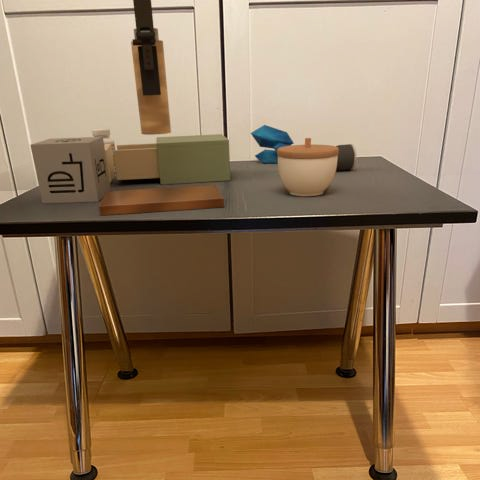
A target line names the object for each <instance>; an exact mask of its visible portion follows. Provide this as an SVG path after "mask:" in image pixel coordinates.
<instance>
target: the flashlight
mask: <svg viewBox="0 0 480 480" xmlns="http://www.w3.org/2000/svg"><path fill="white" fill-rule="evenodd" d="M335 146H336V147H338V148H339V153H338V160H337V168H336V171H352V170H354V169H355V167H356V164H357V149H356V146H355V145H354V144H352V143H349V144H348V143H347V144H338V145H335ZM350 169H351V170H350Z"/></svg>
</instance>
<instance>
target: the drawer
mask: <svg viewBox="0 0 480 480" xmlns="http://www.w3.org/2000/svg"><path fill="white" fill-rule="evenodd" d="M104 147H105V154H106V161H107V168H108V174H109V181H110V184H111V183H112V180H113V179H114V177H115V175H116V180H117V181H127V180H145V179H160V174H159V164H158V154H157V144H156V142H155V143H153V142H152V143H151V142H149V143H132V144H131V143H129V144H117V145H116V149H115V150H113V153H114V160H115V167H116V173H115V169H114V162H113V155H112V148H111V144H105V146H104Z"/></svg>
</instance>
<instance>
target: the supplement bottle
mask: <svg viewBox="0 0 480 480" xmlns="http://www.w3.org/2000/svg"><path fill="white" fill-rule="evenodd" d="M91 133H92V137H103V141H104V146H105V144H111V148H112V155H113V162H114V169H115V174H116V167H115V160H114V153H113V150H116V145H115V140H114V139H113V138H111V129H110V128H94V129H91Z"/></svg>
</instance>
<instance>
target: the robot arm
mask: <svg viewBox="0 0 480 480" xmlns="http://www.w3.org/2000/svg"><path fill="white" fill-rule="evenodd" d="M132 2H133V12H134V21H135V29H136V36H137V39H135V38H132V40H131V41H133V46H137V45H142V46H138V55H139V64H140V73H141V82H142V91H143V95H161V90H160V80H159V69H158V59H157V48H156V46H152V45H155V42H156V38H155V31H154V28H155V27H154V17H153V16H154V15H153V6H152V0H132Z"/></svg>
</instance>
